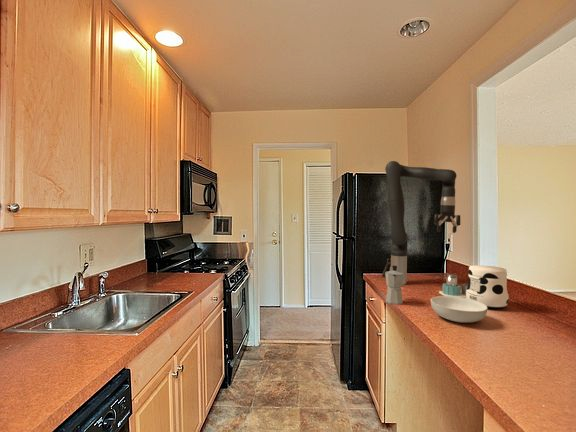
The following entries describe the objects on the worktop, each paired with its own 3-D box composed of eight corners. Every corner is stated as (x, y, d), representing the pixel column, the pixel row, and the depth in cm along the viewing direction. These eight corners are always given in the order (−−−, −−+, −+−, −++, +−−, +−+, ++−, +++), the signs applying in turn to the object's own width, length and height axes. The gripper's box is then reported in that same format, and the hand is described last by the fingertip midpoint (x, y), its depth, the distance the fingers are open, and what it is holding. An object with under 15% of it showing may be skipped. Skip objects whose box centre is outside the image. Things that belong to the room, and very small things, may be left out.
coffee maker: (403, 306, 148) (404, 268, 148) (384, 304, 151) (384, 267, 151) (403, 298, 163) (403, 263, 162) (385, 296, 165) (385, 262, 165)
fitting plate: (448, 298, 163) (448, 287, 163) (438, 292, 174) (439, 282, 174) (482, 299, 163) (482, 288, 163) (470, 293, 174) (470, 283, 174)
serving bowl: (457, 330, 120) (457, 312, 119) (419, 313, 140) (420, 297, 140) (500, 325, 125) (500, 308, 125) (458, 309, 145) (458, 294, 145)
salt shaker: (449, 294, 167) (449, 275, 167) (444, 292, 172) (444, 273, 172) (458, 294, 167) (459, 275, 167) (453, 292, 172) (454, 273, 172)
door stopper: (395, 276, 218) (396, 258, 218) (396, 277, 212) (396, 260, 212) (382, 275, 221) (382, 257, 221) (382, 276, 215) (382, 259, 215)
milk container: (508, 304, 154) (508, 267, 154) (509, 313, 140) (509, 273, 140) (467, 298, 164) (468, 263, 164) (464, 306, 149) (465, 268, 149)
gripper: (438, 204, 181) (437, 232, 182) (463, 205, 181) (462, 233, 181) (432, 204, 189) (431, 231, 189) (457, 205, 188) (455, 232, 189)
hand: (446, 232), depth 185 cm, fingers open, 8 cm apart
